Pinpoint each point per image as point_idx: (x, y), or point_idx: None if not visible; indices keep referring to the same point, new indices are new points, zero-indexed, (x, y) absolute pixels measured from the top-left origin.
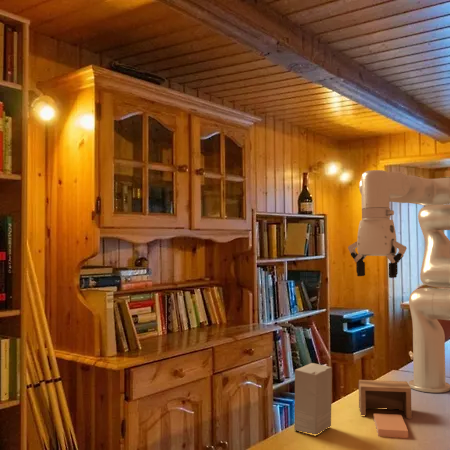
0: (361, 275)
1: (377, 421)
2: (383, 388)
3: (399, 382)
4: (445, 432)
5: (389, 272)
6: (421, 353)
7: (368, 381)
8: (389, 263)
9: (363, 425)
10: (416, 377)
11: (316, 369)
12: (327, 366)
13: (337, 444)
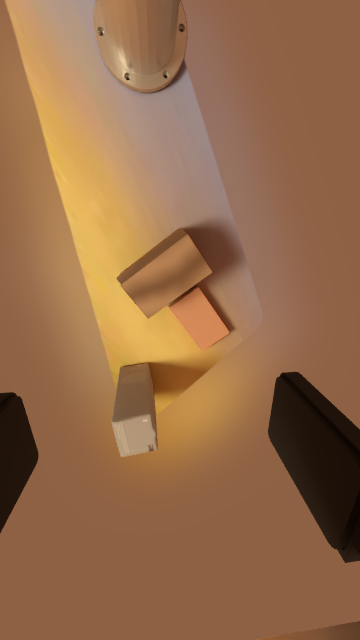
0: (32, 439)
1: (188, 330)
2: (176, 297)
3: (181, 250)
4: (253, 284)
5: (292, 468)
6: (136, 6)
7: (138, 283)
8: (346, 557)
9: (170, 330)
10: (125, 56)
11: (142, 438)
12: (143, 417)
13: (181, 390)
